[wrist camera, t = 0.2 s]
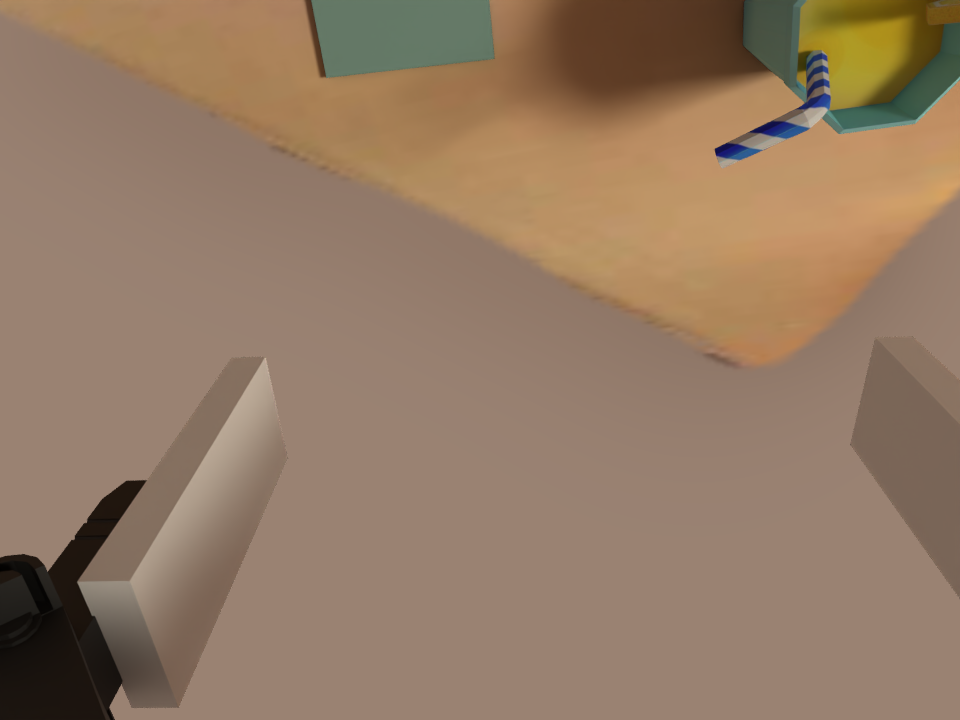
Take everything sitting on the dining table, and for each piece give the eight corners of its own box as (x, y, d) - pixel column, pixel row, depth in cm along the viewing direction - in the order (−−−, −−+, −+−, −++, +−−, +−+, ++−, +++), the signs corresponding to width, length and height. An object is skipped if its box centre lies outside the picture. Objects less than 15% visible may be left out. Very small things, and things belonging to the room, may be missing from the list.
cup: (679, 161, 41) (762, 255, 28) (618, 31, 38) (679, 66, 25) (935, 21, 37) (1172, 53, 24) (891, -137, 34) (1135, -200, 21)
